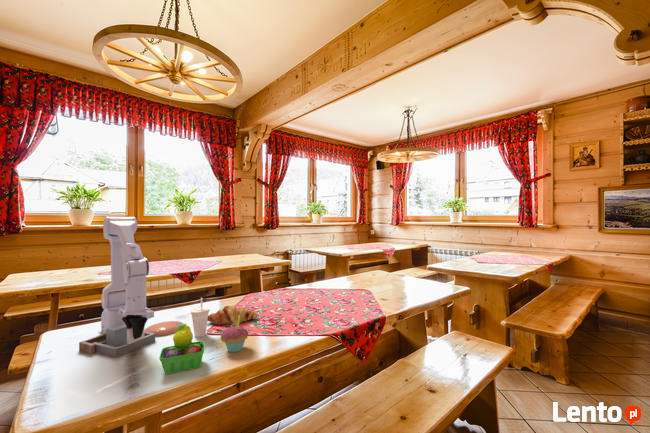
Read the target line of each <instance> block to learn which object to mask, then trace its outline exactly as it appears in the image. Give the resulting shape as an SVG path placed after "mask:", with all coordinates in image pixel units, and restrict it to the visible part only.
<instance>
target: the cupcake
mask: <svg viewBox="0 0 650 433" xmlns="http://www.w3.org/2000/svg"><path fill="white" fill-rule="evenodd" d="M239 321H240V314H239V315H238V321H237V326H236V327H235V326H233V327H231V326H230V327H227V328H226V329H225V330H224V331H223V332H222V333H221V336H220V341H222V342H223V343H224V344H225V346H226V349H227V351H228V352H230V353H237V352H240V351H242V350H243V347H244V345H245V342H246V339H248V336H249V331H248V330H247V328H245V327H243V326H240V323H239Z"/></svg>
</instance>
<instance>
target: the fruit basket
mask: <svg viewBox="0 0 650 433" xmlns="http://www.w3.org/2000/svg"><path fill="white" fill-rule="evenodd" d="M193 334H194V333H193V332H192V330H191V326H189V325H187V323H183V324H181V325H179V326H178V328H177V330H176V333H174V335H173V337H172V340H173V344H174V345H171V346H166V347H163V348H161V351H160V354H159V358H158V359H159V361H160V363H161V366H162V370H163V372H164V374H165V375H168V374H172V373H178V372H182V371H188V370H192V369H198V368H201V364H202V361H203V360H202V359H203V356H204V353H205V341H204V340H200V341H194V342H193V338H194V335H193Z"/></svg>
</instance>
